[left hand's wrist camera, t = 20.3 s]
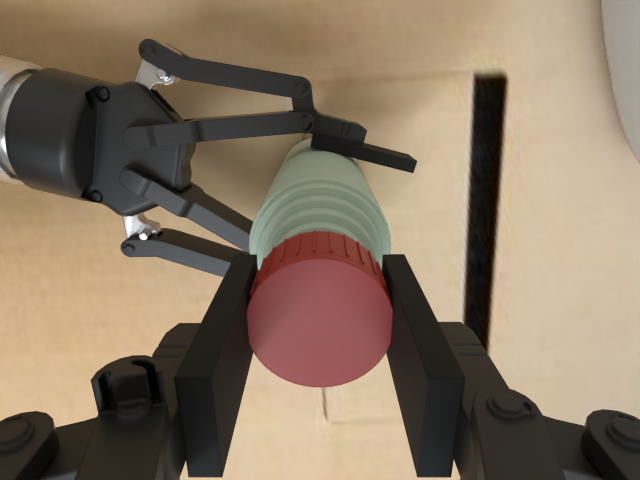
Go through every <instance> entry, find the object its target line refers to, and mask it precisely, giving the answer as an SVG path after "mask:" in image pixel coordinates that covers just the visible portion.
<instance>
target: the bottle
mask: <svg viewBox="0 0 640 480" xmlns="http://www.w3.org/2000/svg"><path fill="white" fill-rule="evenodd" d="M311 140H312V138H308V139H305V140H303V141H301V142H299V143H298V144H296V145H295V146H294V147H293V148H292V149H291V150H290V151H289V152H288V154H287V155H286V156H285V158H284V161H283V163H282V165H281V167H280V169H279V171H278V173H277V175H276V177H275V179H274V181H273V183H272V185H271V187H270V189H269V191H268V193H267V195H266V197H265V199H264V201H263V203H262V205H261V207H260V209H259V211H258V213H257V215H256V217H255V219H254V221H253V224H252V227H251V232H250V237H249V251H250V254H257V264H258V270H260V267H261V264H262V261H263V259H264V257H265V258H266V257H267V256H268V255H269V253H270V252H271V251H272V248H273V247H276V246H278V245H279V244H280V243H282V242H283V241H284V239H289V238H291V237H293V236H296V235H298V233H301V234H302V233H306V232H313V230H316V231H327V232H329V231H331V232H334V233H338V234H341V235H344V234H345V235H346V236H347V237H349V238H351V239H353V240H355V241H356V242H357V241H359V242H360V244H361V245H362V246H363V247H365V248H366V249H367V250H368V251H369V250H370V251H371V254H372V256H373V257H374V259H375V260H376V262H377V261H378V262H379V265H380V268H381V271H382V256H383V254H390V251H391V239H390V232H389V228H388V224H387V222H386V219H385V217H384V215H383V213H382V211H381V209H380V207H379V205H378V203H377V201H376V199H375V197H374V195H373V193H372V191H371V189H370V187H369V185H368V183H367V180H366V178H365V176H364V174H363V172H362V170H361V168H360V166H359V164H358V162H357V160H356V159H355V158H351V157H347V156H344V155H340V154H336V153H332V152H328V151H324V150H320V149H316V148H312V147H310V145H311Z"/></svg>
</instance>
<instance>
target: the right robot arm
mask: <svg viewBox="0 0 640 480" xmlns="http://www.w3.org/2000/svg"><path fill="white" fill-rule="evenodd" d="M139 53H140V55H141V57H142V58H143V60H142V63H141V65H140V68H139V71H138V73H137V76H136V79H135V81H134V82H133V81H131V82H126V83H123V84H113V83H109V82H105V81H101V80H97V79H94V78H90V77H86V76H82V75H78V74H74V73H70V72H66V71H62V70H59V69H54V68H46V69H44V68H43V67H41V66H39V65H38V64H35V63H31V62H27V61H23V60H19V59H15V58H11V57H7V56H3V55H0V182H4V183H8V184H13V185H20V186H21V185H27V186H28V187H30V188H32V189H36V190H40V191H44V192H49V193H53V194H57V195H62V196H66V197H70V198H75V199H79V200H83V201H89V202H96V203H101V204H103V205H105V206H107V207H109V208H110V209H112V210H113V211H114V212H115V213H117V214H119V215H121V216H123V221H124V226H125V232H126V237H127V239H126V240H125V241H124V242H122V244H121V251H122V252H123V254H124V255H126V256H128V257H159V258H163V259H166V260H169V261H172V262H176V263H179V264H182V265H186V266H189V267H192V268H195V269H199V270H202V271H205V272H208V273H212V274H215V275H218V276H222V277H224V276H225V274H226V272H227V270H228V268H229V266H230V264H231V262H232V260H233V258H234V256H235V254H250V251H249V237H250V232H251V227H252V224H253V221H251V220H249V219H248V218H246V217H244V216H243V215H241V214H239V213H238V212H236V211H234V210H233V209H231V208H229V207H227V206H226V205H224V204H222V203H221V202H219V201H217V200H216V199H214V198H212V197H211V196H209V195H207V194H206V193H204V191H203V190H202V189H201V188H200V187H199V186H197V185H195V184H194V183H192V182H190V181H191V174H192V173H191V165H190V160H191V158H192V156H193V154H194V151H195V146H196V142H201V141H211V140H222V139H234V138H246V137H258V136H270V135H282V134H293V133H305V134H306V133H311V134H313V136H312V140H311V145H310V147H312V148H316V149H320V150H324V151H328V152H332V153H336V154H340V155H344V156H347V157H351V158H355V159H359V160H363V161H367V162H371V163H375V164H379V165H383V166H387V167H391V168H395V169H399V170H403V171H407V172H411V173H413V172H414V169H415V166H416V163H417V161H416V160H415V159H414V158H412V157H411V156H410V155H408V154H405V153H401V152H397V151H393V150H389V149H385V148H381V147H377V146H374V145H370V144H366V143H364V139H365V136H366V132H367V130H366V129H365V128H364V127H362V126H361V125H360V124H358V123H355V122H351V121H347V120H344V119H340V118H336V117H332V116H328V115H325V114H321V113H319V112H318V111H317V110H316V109H315V107H314V104H313V96H312V87H311V83H310V82H309V81H308V80H307V79H306V78H304V77H299V76H293V75H288V74H282V73H276V72H270V71H264V70H258V69H252V68H247V67H241V66H235V65H229V64H223V63H217V62H211V61H206V60H200V59H194V58H191V57H189V56H187V55H186V54H184V53H182V52H180V51H179V50H177V49H175V48H173V47H172V46H170V45H168V44H165V43H162V42H158V41H154V40H151V39H145V40H143V41H142V42H141V43H140V45H139ZM180 78H181V79H185V80H190V81H195V82H201V83H207V84H213V85H219V86H225V87H231V88H237V89H243V90H249V91H255V92H261V93H267V94H273V95H279V96H285V97H291V98H292V104H293V110H292V111H281V112H269V113H257V114H246V115H234V116H223V117H211V118H195V119H182V118H181V117H180V116H179V114H178V113H177V112H176V111H175V110H174V109H173V108H172V107H171V106H170V105H169V104H168V102H167V101H166V100H165V99H164V98H163V97H162V96H161V95H160V94H159V93H158V92H157V91H156V88H157V87H158V86H159V85H160V84H165V85H174V84H177V83H178V82H179V80H180ZM157 206H161V207H163V208H164V209H166V210H168V211H170V212H171V213H173V214H175V215H177V216H180V217H186V218H188V219H190V220H192V221H193V222H195V223H197V224H199V225H200V226H202V227H204V228H206V229H207V230H209V231H211V232H213V233H214V234H216V235H218V236H220V237H221V238H223V239H225V240H226V241H228V242H230V243H232V244H233V245H235V246H237V247H239V248H240V249H242V250H244V251H241V250H238V249H235V248H232V247H229V246H225V245H222V244H219V243H216V242H213V241H210V240H206V239H203V238H200V237H197V236H194V235H190V234H187V233H184V232H181V231H177V230H174V229H168V228H161V225H160V223H159V222H156V221H152V220H149V219H147V218H146V217H145V216H144V214H143V212H145V211H147V210H150V209H152V208H155V207H157ZM245 251H246V252H245Z"/></svg>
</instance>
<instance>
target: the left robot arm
mask: <svg viewBox="0 0 640 480" xmlns="http://www.w3.org/2000/svg"><path fill="white" fill-rule="evenodd" d="M257 270H258V264H257V254H235V256H234V258H233V260H232V262H231V264H230V266H229V268H228V270H227V272H226V274H225V276H224V278H223V280H222V282H221V284H220V286H219V288H218V290H217V292H216V294H215V296H214V298H213V300H212V302H211V304H210V306H209V308H208V310H207V312H206V314H205V316H204V318H203V320H202V322H201V323H179V324H178V325H176V326H175V327H174V328H172V329H171V330H170V331H168V332H167V333H166V334H165V335H164V337H163V339H162V340H161V342H160V344H159V346H158V347H157V348H156V350H155V352H154V353H153V356H152V357H150V356H146V355H138V356H129V357H125V358H121V359H118V360H116V361H114V362H111V363H109V364H107V365H106V366H104V367H103V368H101V369H100V370H99V371H97V372H96V374H95V375H94V377H93V378H92V379H91V383H92V388H93V392H94V396H95V401H96V405H97V409H98V413H99V414H98V417H96V418H93V419H89V420H86V421H82V422H78V423H74V424H69V425H65V426H61V427H56V428H55V425H54V421H53V418H51V417H50V416H49V415H48V414H47V413H43V412H37V411H34V412H25V413H20V414H17V415H14V416H11V417H8V418H6V419H4V420H2V421H0V480H180V475H181V472H182V470H183V467H184V464H185V461H186V463H187V470H188V477H222V476H223V472H224V468H225V464H226V460H227V456H228V452H229V448H230V444H231V440H232V436H233V432H234V428H235V424H236V420H237V416H238V412H239V408H240V404H241V400H242V396H243V392H244V388H245V384H246V379H247V375H248V371H249V367H250V363H251V359H252V355H253V350H252V348H251V346H250V344H249V336H248V322H247V307H248V303H249V300H250V297H251V296H249V294H250V291H251V288H252V285H253V282H254V279H255V276H256V273H257ZM382 274H383V277H384V280H385V283H386V286H387V289H388V292H389V295H390V298H391V304H392V307H393V315H392V329H391V343H390V346H389V348H388V350H387V352H386V353H387V357H388V361H389V365H390V369H391V373H392V377H393V381H394V385H395V389H396V393H397V397H398V401H399V406H400V410H401V414H402V418H403V422H404V426H405V430H406V434H407V438H408V442H409V446H410V450H411V454H412V458H413V462H414V466H415V470H416V474H417V477H451V473H452V467H453V460H454V461H455V463H456V466H457V469H458V472H459V474H460V477H461V478H460V480H640V419H638V418H636V417H634V416H631V415H628V414H625V413H622V412H619V411H613V410H598V411H593V412H592V413H591V414H590V415H589V416H588V417H587V419H586V423H585V426H582V425H578V424H574V423H569V422H565V421H561V420H556V419H553V418H549V417H546V416H543V415H542V413H541V412H540V410H539V409H538V407H537V406H536V404H535V403H534V402H532V401H531V400H530V399H529V398H528V397H526V396H525V395H523V394H521V393H519V392H517V391H515V390H512V389H509V387H508V386H507V384H506V383H505V381H504V379H503V378H502V376H501V375H500V373H499V371H498V370H497V368H496V367H495V365H494V363H493V362H492V360H491V359H490V357H489V356H487V352H486V351H485V349H484V347H483V346H481V343H480V341H479V339H478V338H477V336H476V335H475V333H474V332H473V331H472V330H470V329H469V328H468V327H466V326H465V325H464V324H462V323H461V322H438V321H437V319H436V317H435V315H434V313H433V311H432V309H431V307H430V305H429V303H428V301H427V299H426V297H425V295H424V293H423V291H422V289H421V287H420V285H419V283H418V281H417V279H416V277H415V275H414V273H413V271H412V269H411V267H410V265H409V263H408V261H407V259H406V257H405V255H404V254H383V256H382Z"/></svg>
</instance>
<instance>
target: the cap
mask: <svg viewBox="0 0 640 480" xmlns="http://www.w3.org/2000/svg"><path fill="white" fill-rule="evenodd" d="M249 296H251V297H250V300H249V303H248V307H247V322H248V336H249V344H250V346H251V348H252V350H253V352H254V354H255V355H256V357H257V358H258V359H259V361H260V362H261V363H262V364H263V365H264V366H265V367H266V368H267V369H269V370H270V371H271V372H272V373H274V374H276V375H277V376H279V377H280V378H282V379H285V380H287V381H289V382H292V383H295V384H298V385H303V386H309V387H332V386H337V385H342V384H345V383H348V382H351V381H353V380H355V379H358V378H359V377H361V376H363V375H364V374H366V373H367V372H369V371H370V370H371V369H373V368H374V367H375V366H376V365H377V364H378V363H379V361H380V360H381V359H382V358H383V356H384V355H385V353H386V352H387V350H388V348H389V346H390V343H391V329H392V315H393V307H392V304H391V298H390V295H389V292H388V289H387V286H386V283H385V280H384V277H383V274H382V271H381V268H380V265H379V262H378V261H377V262H376V260H375V259H374V257H373V256H372V254H371V251H370V250H369V251H368V250H367V249H366V248H365V247H363V246H362V245H361V244H360V242H359V241H357V242H356V241H355V240H353V239H351V238H349V237H347V236H346V235H345V234H344V235H341V234H338V233H334V232H331V231H329V232H327V231H316V230H313V232H306V233H302V234H301V233H298V235H296V236H293V237H291V238H289V239H284V241H283V242H282V243H280V244H279V245H278V246H276V247H273V248H272V251H271V252H270V253H269V255H268V256H267V257H266V258H265V257H264V259H263V261H262V264H261V267H260V270H257V273H256V276H255V279H254V282H253V285H252V288H251V291H250V294H249Z"/></svg>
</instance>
